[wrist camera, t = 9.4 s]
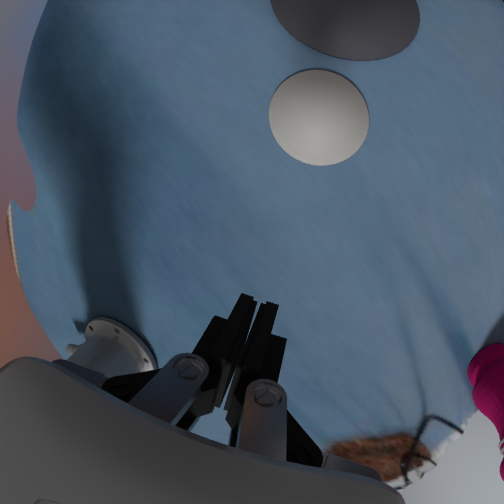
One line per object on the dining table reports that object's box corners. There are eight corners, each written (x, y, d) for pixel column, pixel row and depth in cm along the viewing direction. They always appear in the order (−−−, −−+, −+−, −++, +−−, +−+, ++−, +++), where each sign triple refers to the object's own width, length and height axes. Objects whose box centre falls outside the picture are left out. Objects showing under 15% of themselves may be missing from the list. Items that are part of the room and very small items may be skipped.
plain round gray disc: (279, 171, 23) (279, 172, 22) (260, 80, 20) (259, 79, 20) (376, 159, 20) (376, 159, 20) (356, 65, 18) (356, 64, 18)
